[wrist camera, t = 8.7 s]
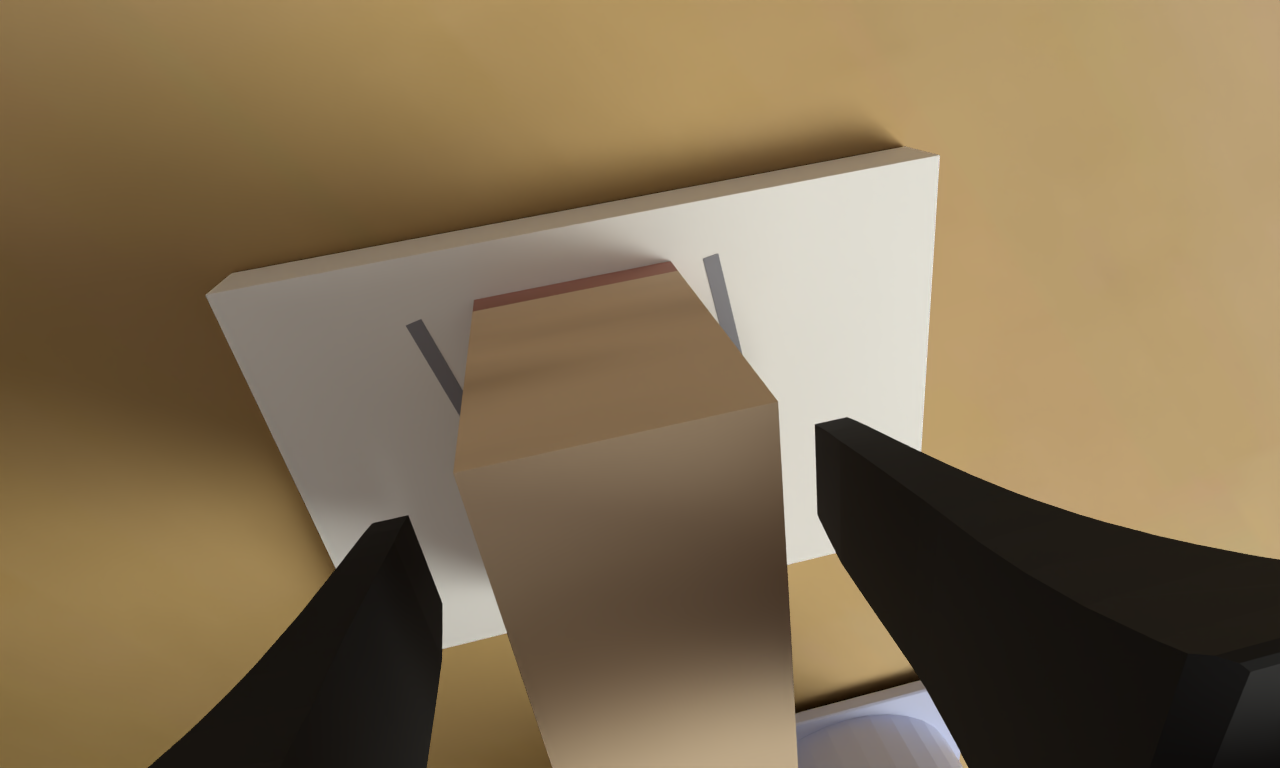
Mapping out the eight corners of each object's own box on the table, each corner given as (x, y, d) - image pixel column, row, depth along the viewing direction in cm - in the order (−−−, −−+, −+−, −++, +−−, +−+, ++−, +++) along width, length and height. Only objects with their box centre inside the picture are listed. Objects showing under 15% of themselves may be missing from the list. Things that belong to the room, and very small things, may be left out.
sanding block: (707, 551, 16) (798, 779, 11) (553, 587, 15) (576, 840, 10) (670, 261, 12) (778, 402, 7) (473, 299, 12) (453, 472, 7)
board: (891, 503, 18) (916, 534, 17) (388, 623, 16) (381, 664, 15) (905, 146, 13) (940, 155, 12) (230, 273, 12) (205, 295, 11)
